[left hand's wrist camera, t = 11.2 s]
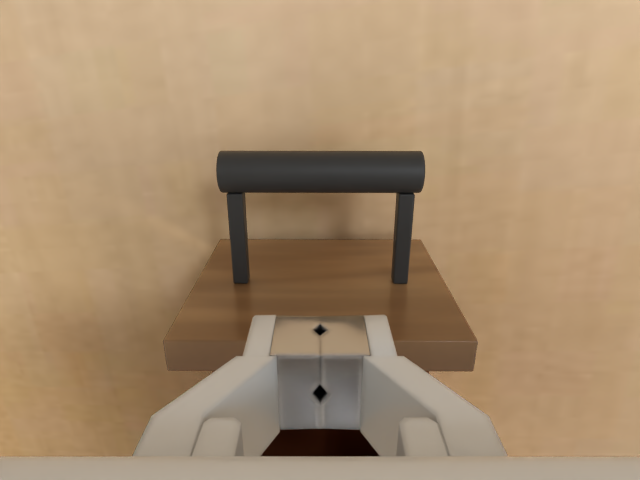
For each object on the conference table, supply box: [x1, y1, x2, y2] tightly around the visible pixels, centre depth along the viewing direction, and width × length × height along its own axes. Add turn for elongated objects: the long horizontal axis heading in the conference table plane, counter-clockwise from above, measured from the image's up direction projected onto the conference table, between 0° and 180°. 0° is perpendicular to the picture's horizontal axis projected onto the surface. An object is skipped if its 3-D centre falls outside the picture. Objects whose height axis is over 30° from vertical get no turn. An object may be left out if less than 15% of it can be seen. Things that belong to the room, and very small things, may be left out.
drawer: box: [163, 151, 478, 456], centre depth 21 cm, size 25×10×9 cm, turn 0°
